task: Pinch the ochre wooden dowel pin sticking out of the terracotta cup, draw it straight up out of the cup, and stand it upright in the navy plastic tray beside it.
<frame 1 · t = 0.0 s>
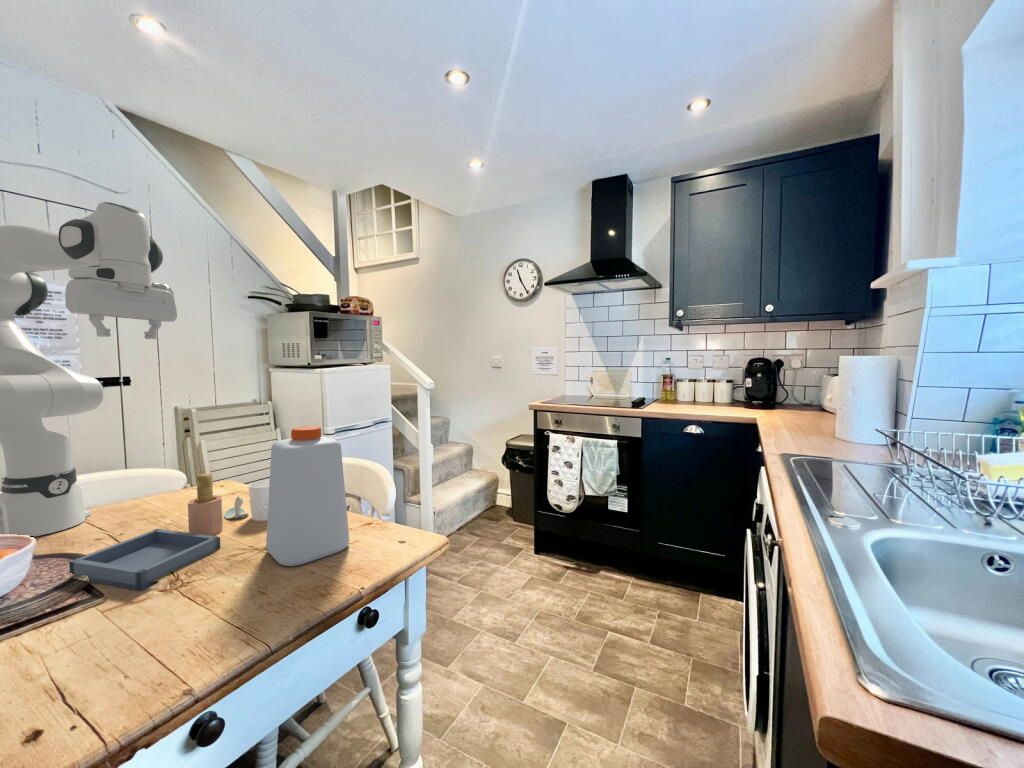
hand: (128, 338, 93), 48 cm above the table, fingers open, 8 cm apart
plastic bottle: (308, 549, 93), on the table
dowel pin: (206, 531, 99), point 1 cm above the table, touching terracotta cup
terracotta cup: (206, 535, 99), on the table
white cup: (266, 520, 109), on the table
navy tray: (150, 564, 85), on the table
pacifier: (233, 521, 109), on the table
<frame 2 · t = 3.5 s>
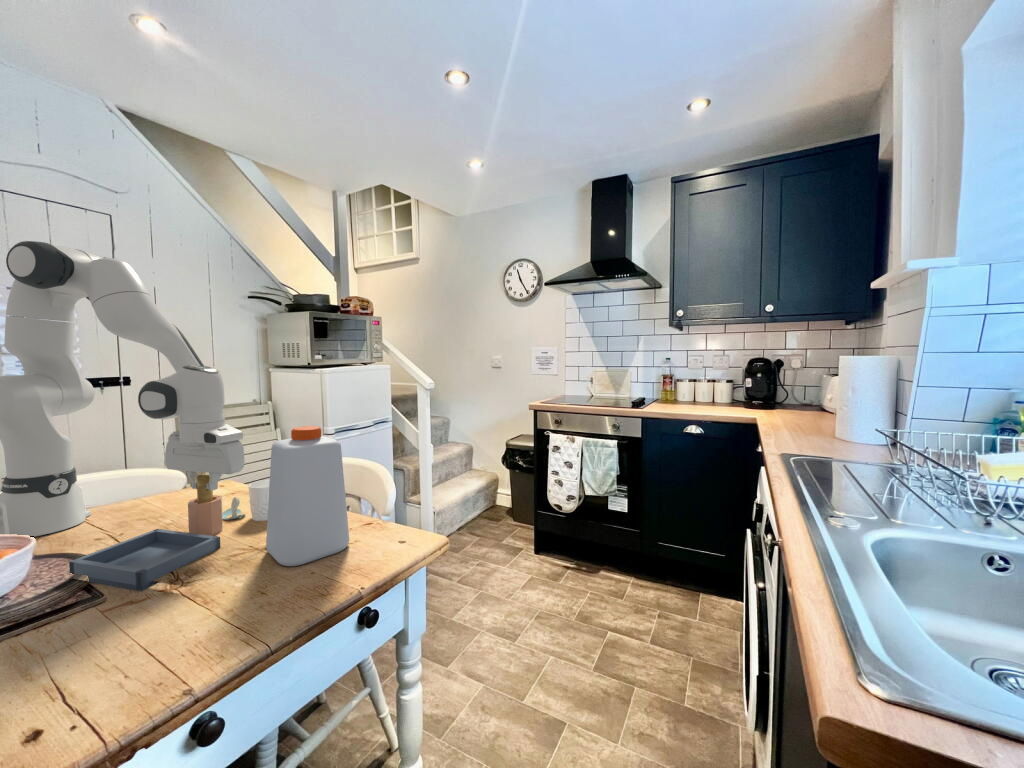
hand: (204, 489, 98), 12 cm above the table, fingers closed on dowel pin, 3 cm apart
dowel pin: (206, 531, 99), point 1 cm above the table, touching gripper, terracotta cup
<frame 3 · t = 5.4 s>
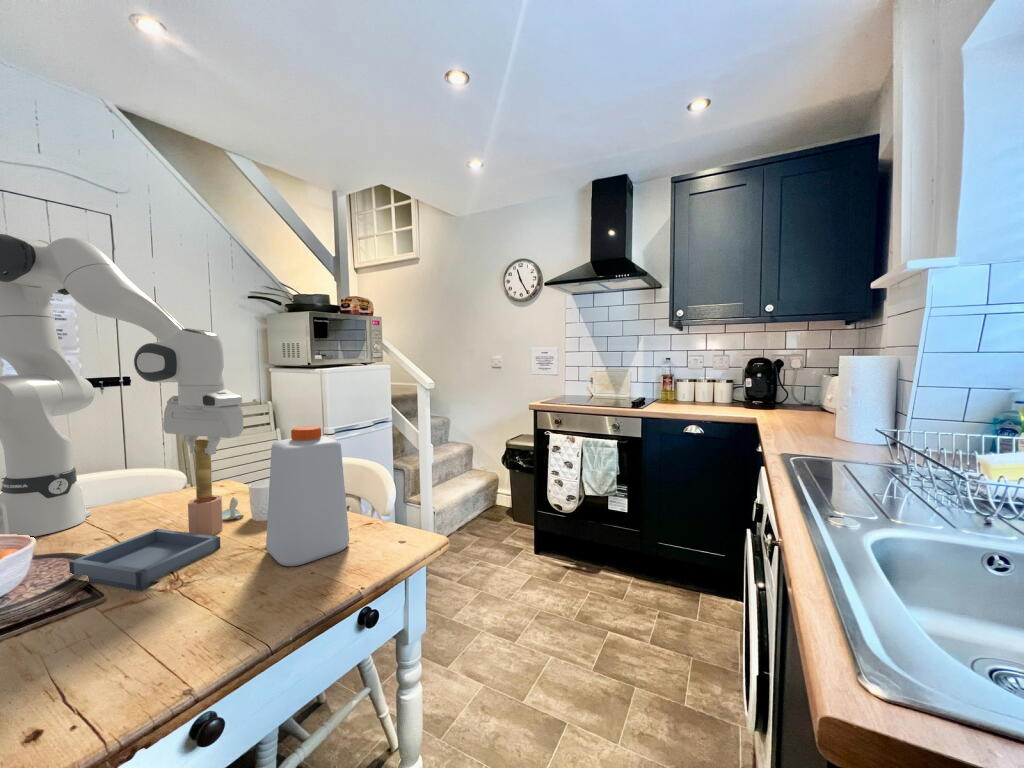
hand: (203, 453, 98), 20 cm above the table, fingers closed on dowel pin, 3 cm apart
dowel pin: (204, 496, 98), point 10 cm above the table, touching gripper
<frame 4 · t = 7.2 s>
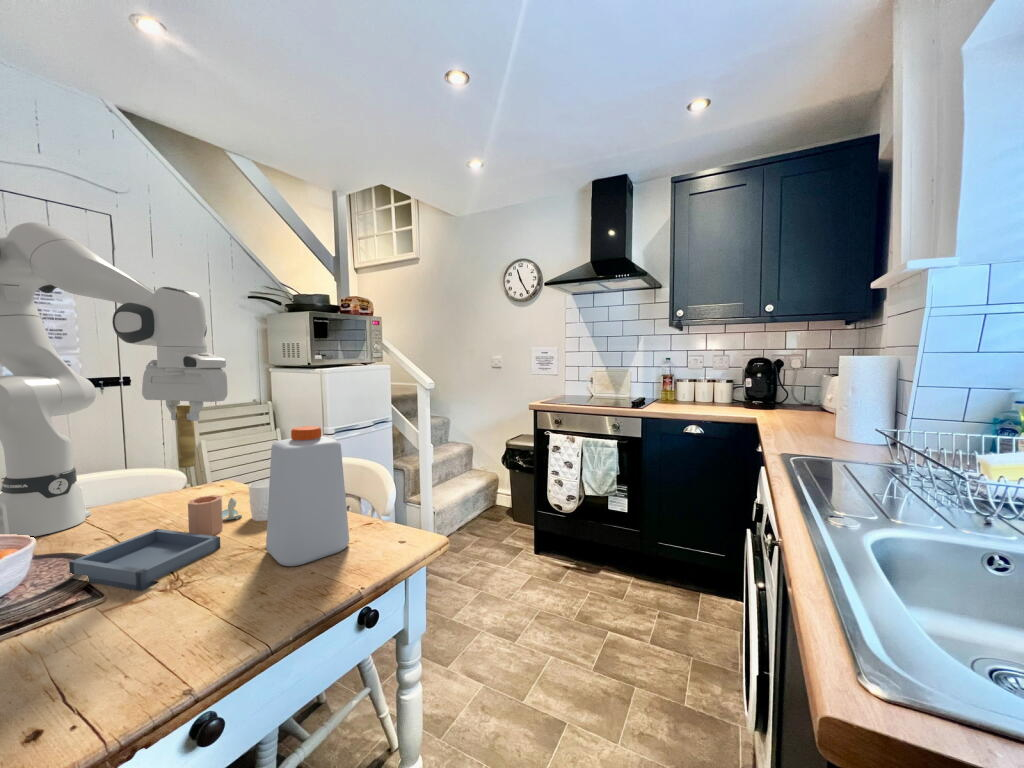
hand: (185, 420, 93), 29 cm above the table, fingers closed on dowel pin, 3 cm apart
dowel pin: (187, 466, 93), point 19 cm above the table, touching gripper
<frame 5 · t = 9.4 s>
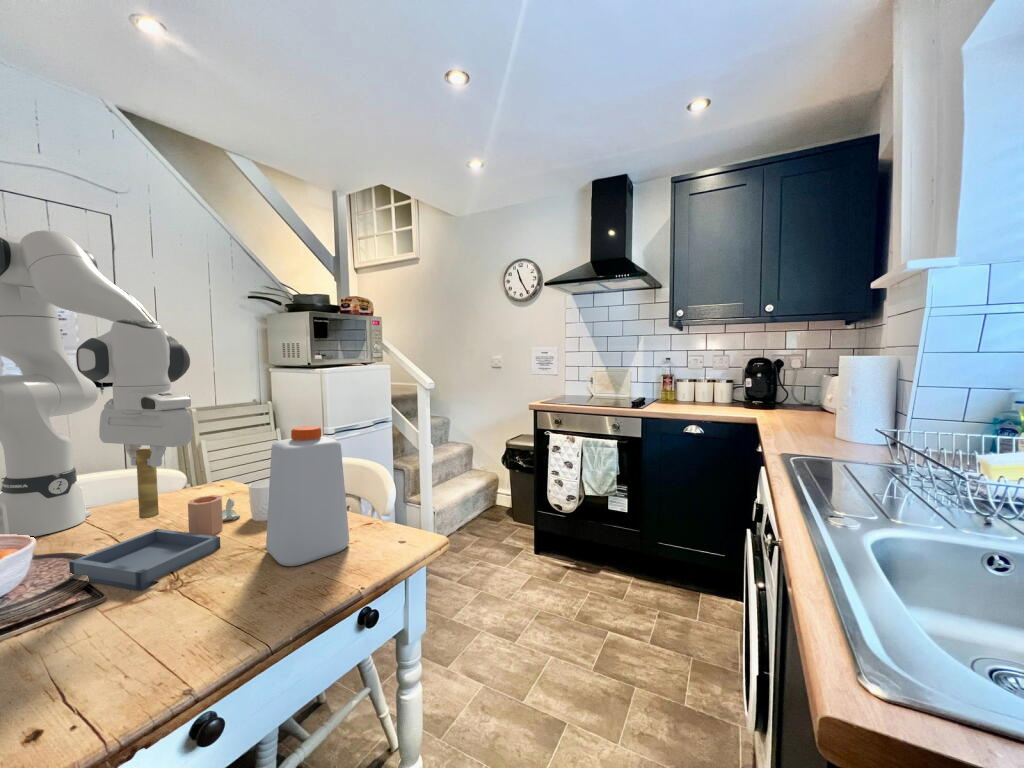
hand: (146, 465, 84), 21 cm above the table, fingers closed on dowel pin, 3 cm apart
dowel pin: (149, 515, 84), point 10 cm above the table, touching gripper
when the fingers open (13 cm above the table, at t = 11.1 s): dowel pin drops 1 cm, resting on navy tray.
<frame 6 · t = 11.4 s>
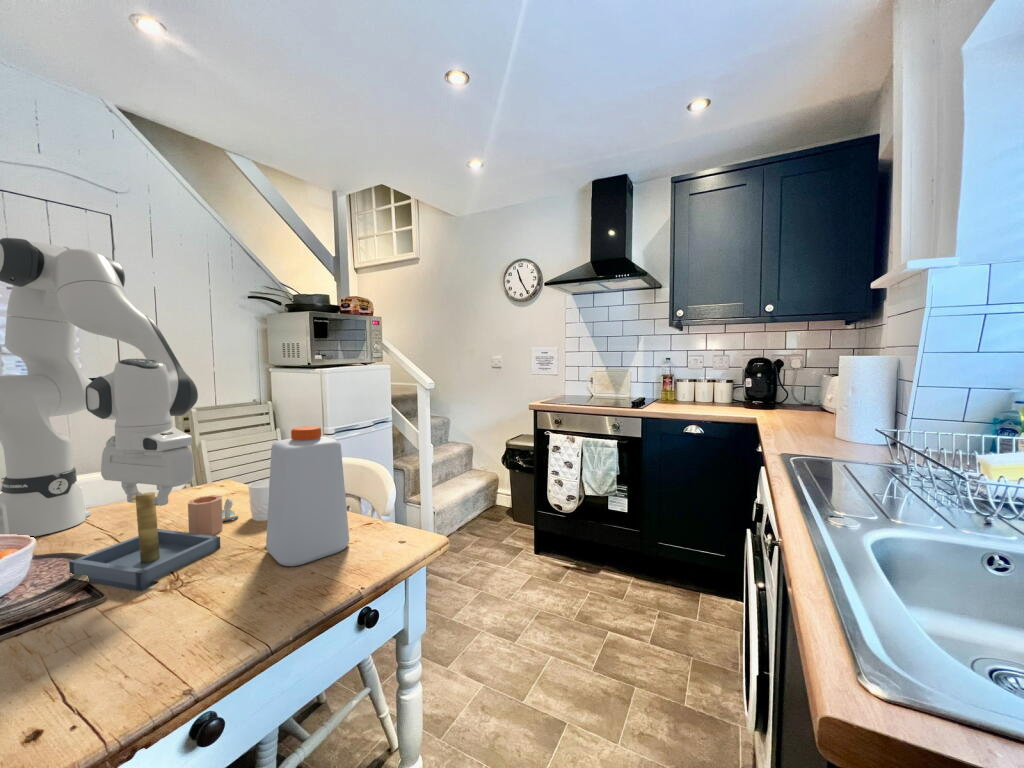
hand: (147, 503, 84), 13 cm above the table, fingers open, 6 cm apart
dowel pin: (150, 559, 85), point 1 cm above the table, touching navy tray
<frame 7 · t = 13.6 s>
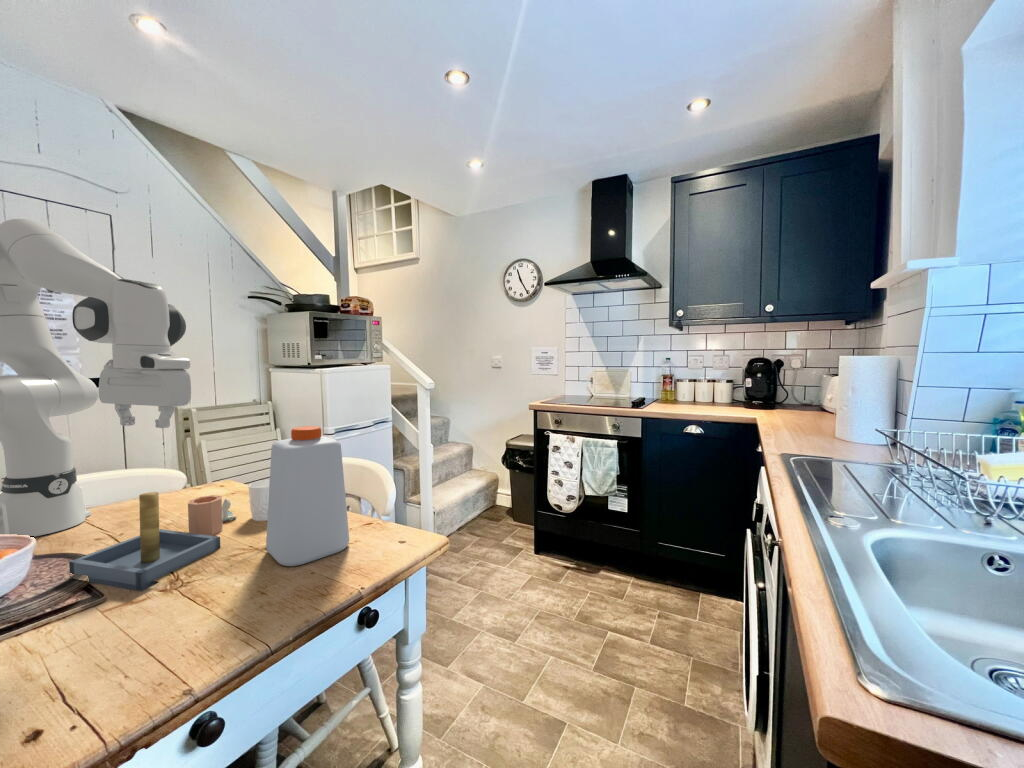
hand: (145, 426, 84), 29 cm above the table, fingers open, 8 cm apart
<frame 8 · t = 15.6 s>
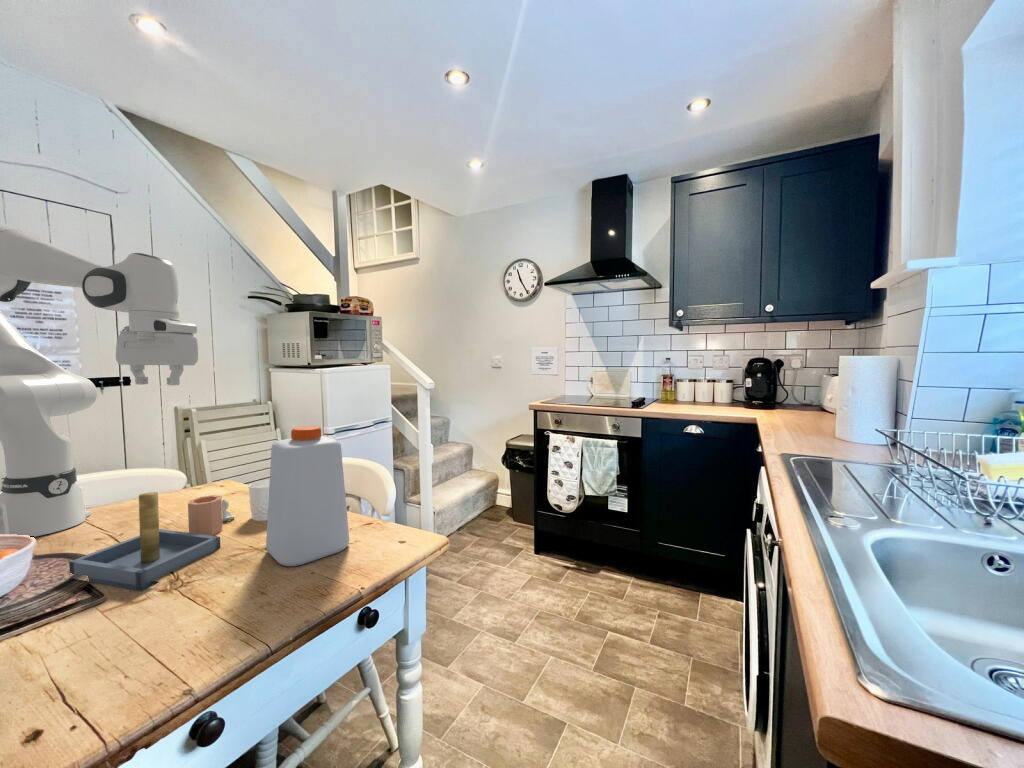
hand: (157, 384, 95), 37 cm above the table, fingers open, 8 cm apart
at the end: dowel pin inside the target area on the navy tray (0.0 cm from its centre), point 1.0 cm above the navy tray's base; dowel pin tilted 0°; the gripper is holding nothing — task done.
